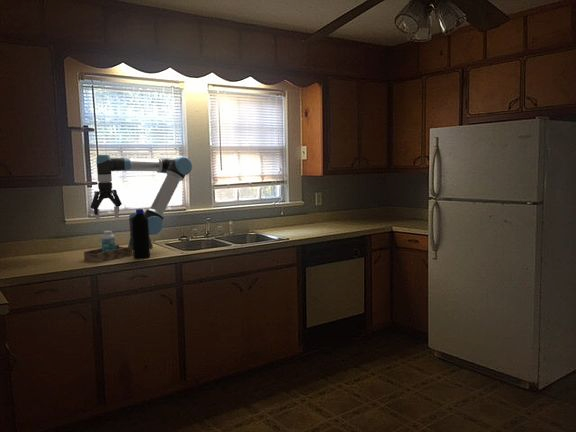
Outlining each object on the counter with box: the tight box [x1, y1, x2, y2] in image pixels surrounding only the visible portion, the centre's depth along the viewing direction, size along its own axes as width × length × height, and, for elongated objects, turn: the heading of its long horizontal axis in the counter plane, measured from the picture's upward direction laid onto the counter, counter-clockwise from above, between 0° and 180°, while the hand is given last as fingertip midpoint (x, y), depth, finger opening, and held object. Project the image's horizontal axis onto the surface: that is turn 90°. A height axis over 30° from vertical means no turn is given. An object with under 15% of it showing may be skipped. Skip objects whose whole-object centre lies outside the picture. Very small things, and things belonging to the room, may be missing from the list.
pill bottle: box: [101, 230, 116, 252], centre depth 285 cm, size 8×7×14 cm
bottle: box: [132, 208, 151, 260], centre depth 283 cm, size 9×9×28 cm
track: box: [83, 244, 134, 263], centre depth 286 cm, size 24×13×5 cm, turn 151°
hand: (107, 218), depth 284 cm, fingers open, 13 cm apart
